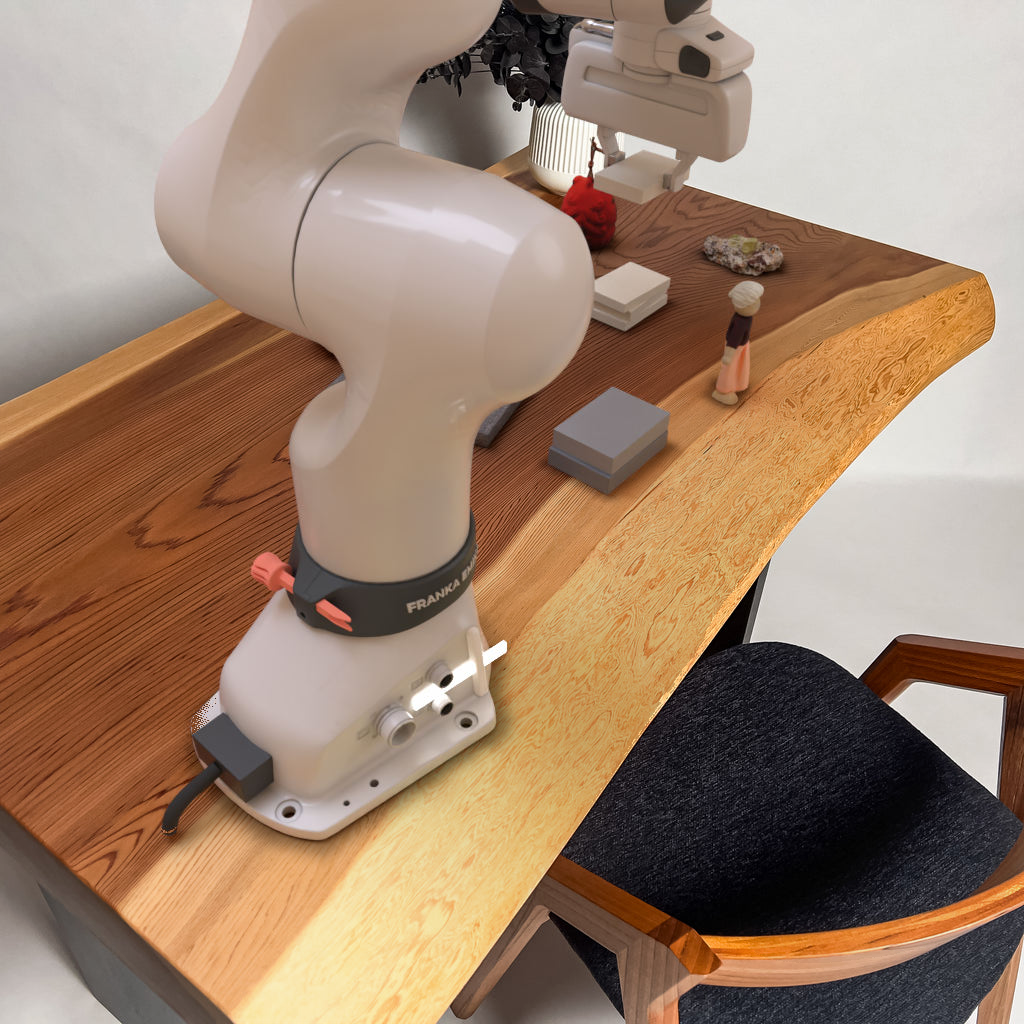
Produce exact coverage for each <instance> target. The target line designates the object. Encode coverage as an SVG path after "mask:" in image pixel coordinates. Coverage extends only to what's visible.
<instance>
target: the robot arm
mask: <svg viewBox="0 0 1024 1024" xmlns="http://www.w3.org/2000/svg"><path fill="white" fill-rule="evenodd" d="M509 2H510V3H511V4H512V5H513V7H514V8H515V9H516V10H518V12H520V13H521V14H523V15H543V16H560V15H561V16H562V15H564V16H565V15H566V16H571V17H572V16H573V17H579V18H580V17H581V18H584V19H582V21H579V22H577V23H575V24H574V26H572V29H571V30H570V31H569V36H568V48H567V49H568V56H567V60H566V64H565V67H564V68H565V69H564V74H563V80H562V86H561V96H560V105H561V107H562V110H563V112H564V114H565V115H566V116H568V117H570V118H573V119H576V120H580V121H583V122H587V123H590V124H593V125H597V127H596V137H597V139H598V142H599V145H600V147H601V149H602V150H603V153H605V155H604V154H603V155H604V157H603V169H605V168H607V167H609V166H611V165H613V164H615V163H617V162H619V161H622V160H624V159H626V152H625V151H622V150H620V147H619V144H618V140H617V135H616V134H617V133H622V134H625V135H629V136H632V137H635V138H638V139H642V140H645V141H648V142H651V143H654V144H658V145H661V146H665V147H668V148H670V149H674V150H676V151H675V159H674V160H678V161H680V162H679V164H678V165H677V166H676V168H672V169H670V171H666V172H665V173H664V175H663V180H664V182H663V189H666V190H668V191H669V192H672V193H675V194H676V193H678V192H679V191H681V190H682V189H683V187H684V182H685V181H684V177H685V172H687V170H688V169H689V168H690V169H691V167H692V165H693V164H694V163H695V162H696V160H697V159H698V158H699V157H700V158H703V159H707V160H709V161H712V162H716V163H724V162H726V161H729V160H730V159H732V158H734V157H736V156H737V155H738V154H739V153H740V152H741V151H742V150H743V149H744V148H745V147H746V144H747V142H748V141H747V140H748V135H749V130H750V125H751V124H750V123H751V115H752V103H753V88H752V87H753V86H752V83H751V80H750V78H749V76H748V74H746V73H745V70H747V69H748V68H749V67H751V66H752V64H753V61H754V57H755V47H754V46H753V44H752V43H751V42H749V41H748V40H747V39H745V38H744V37H742V36H741V35H739V34H738V33H736V32H735V31H733V30H732V29H730V28H729V27H728V26H726V25H724V24H723V23H722V22H721V21H720V20H718V19H717V18H716V17H715V16H713V15H712V8H713V0H509ZM502 3H503V0H251V5H250V9H249V14H248V18H247V21H246V26H245V30H244V33H243V36H242V39H241V43H240V46H239V49H238V51H237V54H236V56H235V59H234V61H233V65H232V67H231V69H230V72H229V74H228V75H227V78H226V81H225V82H224V84H223V86H222V88H221V90H220V92H219V94H218V95H217V97H216V98H215V100H214V101H213V103H212V104H211V105H210V107H209V108H208V109H207V110H206V111H205V112H204V113H203V114H202V115H200V116H199V117H198V118H197V119H195V120H194V121H193V122H191V123H190V124H188V125H187V126H186V127H185V128H184V129H183V130H182V131H180V133H179V134H178V135H176V136H177V137H176V138H175V139H174V140H173V142H171V144H170V146H169V148H168V149H167V151H166V153H165V155H164V157H163V159H162V162H161V164H160V167H159V170H158V172H157V177H156V181H155V187H154V195H153V213H154V214H153V215H154V220H155V226H156V231H157V233H158V237H159V239H160V243H161V245H162V246H163V249H164V251H165V252H166V254H167V256H168V257H169V258H170V259H171V261H172V262H173V263H174V264H175V265H176V266H177V267H178V268H179V269H180V270H182V272H184V273H185V274H186V275H188V276H189V277H191V278H192V279H193V280H194V281H196V282H197V283H198V284H199V285H201V286H202V287H203V288H204V289H206V290H207V291H209V292H210V293H211V294H213V295H214V296H216V297H217V298H218V299H220V300H221V301H223V302H224V303H225V304H227V305H228V306H230V307H231V308H232V309H235V310H237V311H239V312H241V313H242V314H245V315H248V316H250V317H252V318H255V319H258V320H260V321H263V322H265V323H268V324H270V325H273V326H275V327H278V328H280V329H283V330H285V331H287V332H290V333H292V334H295V335H297V336H299V337H302V338H304V339H307V340H310V341H312V342H315V343H317V344H319V345H320V346H322V347H323V348H325V349H326V348H327V349H329V350H330V351H332V352H333V353H332V352H331V353H332V354H333V356H335V358H336V360H337V361H338V364H339V365H340V367H341V369H342V371H343V372H344V375H345V380H344V381H341V382H339V383H337V384H334V385H332V386H330V387H329V388H327V387H326V388H327V389H326V388H325V389H323V390H322V391H320V393H318V394H317V395H316V396H314V397H313V398H312V399H311V400H310V401H309V402H308V403H307V405H306V406H305V407H304V409H303V410H302V412H301V414H300V415H299V417H298V419H297V421H296V423H295V424H294V426H293V429H292V431H291V433H290V437H289V442H288V456H289V461H290V469H291V475H292V483H293V488H294V489H293V490H294V497H295V502H296V510H297V516H298V521H297V523H296V527H295V531H294V535H293V539H292V542H291V548H290V552H289V556H288V562H283V561H282V560H281V558H279V557H278V556H277V555H276V554H275V553H273V552H271V551H266V552H263V553H261V554H259V555H258V556H257V557H256V558H255V559H254V561H253V562H252V564H253V565H251V568H250V571H251V572H250V575H251V578H252V579H254V580H255V581H257V582H258V583H261V584H263V585H265V586H266V587H267V589H268V590H269V591H270V592H275V593H274V594H273V595H272V596H271V598H270V600H269V601H268V603H266V605H265V606H264V608H263V609H262V611H261V612H260V614H259V615H258V616H257V618H255V621H254V622H253V623H252V625H251V626H250V627H249V628H248V630H247V632H246V633H245V634H244V636H243V637H242V638H241V639H240V641H239V642H238V644H237V645H236V647H235V648H234V649H233V650H232V652H231V653H230V655H229V656H228V657H227V658H226V660H225V662H224V664H223V667H222V669H221V672H220V678H219V686H218V687H219V689H218V690H217V691H216V693H215V694H213V696H211V698H210V699H209V700H210V701H209V700H208V701H207V702H206V703H205V704H204V705H205V706H208V707H209V708H208V707H205V706H204V705H202V707H201V708H202V709H203V707H205V708H204V710H206V711H204V710H201V708H200V709H199V710H201V711H202V712H201V713H203V714H201V713H198V711H199V710H198V711H197V712H196V713H198V714H200V715H202V716H200V715H197V714H196V713H195V715H197V716H199V717H202V718H203V719H201V718H199V719H201V722H203V721H204V722H203V723H201V722H199V723H200V724H203V725H204V726H203V725H200V724H198V725H200V726H199V727H200V729H199V728H197V729H199V730H197V731H196V732H195V733H193V734H192V733H191V737H192V738H191V739H192V744H193V745H192V746H193V748H194V752H195V756H196V757H197V759H198V762H199V763H200V765H201V767H202V768H203V770H202V771H201V772H199V774H197V775H196V776H195V777H194V778H192V779H191V780H190V781H189V782H188V783H186V785H184V787H182V789H181V790H180V791H179V792H177V794H175V796H174V797H173V798H172V800H171V801H170V803H169V804H168V805H167V807H166V809H165V811H164V814H163V816H162V817H163V818H162V824H161V828H162V829H163V830H165V831H167V832H168V831H170V830H173V829H175V827H177V826H178V827H179V821H180V818H181V817H182V814H183V813H184V812H185V811H186V809H187V808H188V807H189V805H190V804H191V803H192V802H193V801H194V800H195V799H196V798H197V797H199V795H200V794H202V793H203V792H205V790H206V789H207V788H208V787H210V786H211V785H212V784H213V783H214V784H215V785H216V786H217V787H218V788H219V790H221V791H222V792H223V794H225V795H226V797H228V798H229V799H230V800H231V801H232V802H233V803H234V804H236V805H237V806H238V807H239V808H240V809H241V810H243V811H244V812H245V813H247V814H248V815H249V816H251V817H252V818H254V819H256V820H257V821H259V822H260V823H261V824H264V825H266V826H267V827H269V828H271V829H273V830H274V831H278V832H280V833H283V834H284V835H288V836H292V837H295V838H299V839H305V840H312V841H322V840H323V841H324V840H326V839H328V838H330V837H332V836H334V835H335V834H336V833H338V832H340V831H342V830H344V829H345V828H346V827H348V826H349V825H351V824H353V823H354V822H355V821H357V820H358V819H360V818H361V817H363V816H364V815H366V814H368V813H369V812H371V811H372V810H374V809H375V808H376V807H378V806H380V805H381V804H383V803H384V802H386V801H388V800H389V799H391V798H392V797H393V796H395V795H397V794H398V793H400V792H401V791H402V790H405V789H406V788H407V787H409V786H410V785H412V784H414V783H415V782H416V781H418V780H419V779H421V778H422V777H424V776H425V775H427V774H429V773H430V772H432V771H433V770H435V769H436V768H438V767H439V766H441V765H443V764H444V763H445V762H447V761H448V760H450V759H452V758H453V757H456V755H458V754H459V753H461V752H462V751H464V750H465V749H467V748H469V747H470V746H472V745H473V744H474V743H477V742H478V741H479V740H481V739H482V738H484V737H485V736H487V735H488V734H490V733H491V732H492V731H493V730H494V729H495V727H496V725H497V713H496V707H495V703H494V700H493V697H492V694H491V691H490V689H489V688H490V687H489V686H490V680H491V673H492V662H493V661H494V660H496V659H498V658H499V657H501V656H502V655H504V654H506V653H507V642H506V641H505V640H502V641H500V642H499V643H497V644H496V645H494V646H493V647H491V648H490V646H489V642H488V640H487V637H486V636H485V634H484V631H483V629H482V626H481V624H480V623H481V622H480V618H479V612H478V606H477V602H476V601H477V599H476V596H475V590H474V584H473V583H474V582H473V579H474V576H475V574H476V570H477V557H478V550H479V545H478V543H477V529H476V528H477V526H476V519H475V515H474V512H473V510H472V507H471V481H472V466H473V456H474V455H473V454H474V446H475V444H474V442H475V439H476V436H477V433H478V431H479V429H480V427H481V425H482V423H483V422H484V420H485V419H486V418H487V417H488V416H489V415H490V414H491V413H493V412H494V411H495V410H497V409H499V408H500V407H502V406H505V405H508V404H511V403H515V402H518V401H521V400H523V401H524V400H525V399H528V398H529V397H531V396H533V395H535V394H537V393H538V392H540V391H541V390H542V389H544V388H545V387H547V386H548V385H549V384H551V383H552V382H553V381H554V380H555V379H556V378H557V377H558V376H559V375H560V374H562V372H563V371H564V370H565V369H566V368H567V367H568V365H569V364H570V362H572V360H573V359H574V358H575V356H576V354H577V353H578V351H579V349H580V348H581V346H582V343H583V341H584V339H585V337H586V334H587V332H588V330H589V327H590V324H591V320H592V318H591V316H592V311H593V306H594V295H595V280H596V279H595V271H594V269H595V268H594V263H593V258H592V255H591V250H589V247H588V244H587V241H586V239H585V237H584V234H583V232H582V230H581V228H580V226H579V225H578V224H577V222H576V221H575V220H574V219H573V218H571V217H570V216H568V215H567V214H565V213H563V212H562V211H561V209H559V208H556V207H555V206H553V205H552V204H550V203H548V202H547V201H545V200H543V199H541V198H540V197H538V196H536V195H535V194H533V193H531V192H529V191H528V190H525V189H524V188H522V187H520V186H519V185H516V184H515V183H512V182H511V181H509V180H508V179H506V178H504V177H502V176H500V175H498V174H495V173H492V172H489V171H485V170H481V169H478V168H475V167H472V166H467V165H464V164H461V163H457V162H454V161H450V160H446V159H443V158H440V157H437V156H433V155H430V154H426V153H422V152H418V151H415V150H412V149H408V148H405V147H402V146H401V145H400V133H401V132H400V131H401V125H402V120H403V117H404V114H405V110H406V106H407V103H408V101H409V99H410V96H411V93H412V91H413V90H414V88H415V86H416V84H417V82H418V80H420V77H421V76H422V75H423V74H424V72H425V71H426V70H428V69H430V68H433V67H435V66H438V65H440V64H443V63H446V62H448V61H450V60H451V59H453V58H456V57H457V56H459V55H461V54H463V53H464V52H466V51H468V50H469V49H470V48H472V46H474V45H475V44H476V43H477V42H478V41H480V39H482V38H483V36H484V35H486V33H487V32H488V31H489V29H490V28H491V26H492V24H493V23H494V21H495V20H496V18H497V16H498V13H499V11H500V8H501V6H502ZM597 20H603V21H610V22H613V23H608V22H599V21H597ZM580 27H581V28H580ZM327 349H326V350H327ZM330 351H329V352H330ZM343 372H342V373H343ZM215 698H216V699H215ZM208 702H209V703H208ZM215 703H216V704H215ZM206 704H208V705H206ZM209 705H210V706H209ZM212 706H213V707H212ZM206 708H207V709H206ZM207 711H208V712H207ZM199 712H200V711H199ZM205 712H206V713H205ZM204 714H205V715H204ZM195 715H194V716H195ZM194 716H193V717H192V719H193V718H194ZM203 716H204V717H203ZM206 717H207V718H206ZM197 718H198V717H197ZM204 719H206V720H204ZM196 720H197V719H196ZM202 720H203V721H202ZM207 720H209V721H207ZM198 721H200V720H198ZM198 721H197V722H198ZM205 721H206V722H207V723H206V722H205ZM191 722H192V720H191V721H190V723H191ZM193 723H194V722H193ZM204 723H205V724H204ZM195 724H197V723H195ZM198 725H197V727H198ZM463 725H468V726H469V727H464V726H463ZM201 726H202V727H201ZM195 728H196V727H195ZM190 729H191V732H192V727H191V726H190ZM194 730H195V729H194ZM290 813H294V815H293V816H291V817H285V816H286V815H287V814H290ZM178 827H177V828H176V829H175V830H174V831H173V832H171V833H163V831H162V830H161V828H160V831H161V833H162V834H163V835H165V836H174V835H175V834H177V831H178Z"/></svg>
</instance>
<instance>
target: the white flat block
mask: <svg viewBox="0 0 1024 1024" xmlns="http://www.w3.org/2000/svg"><path fill="white" fill-rule="evenodd" d="M679 162H680V160H676V159H674V158H671V157H668V156H664V155H662V154H658V153H656V152H652V151H649V150H645V149H642V150H640V151H638V152H636V153H634V154H632V155H629V156H628V157H625V159H624V160H622V161H619V162H617V163H615V164H613V165H611V166H609V167H607V168H605V169H604V168H603V169H601V170H599V171H597V172H595V173H594V174H593V177H594V186H593V188H594V189H597V190H600V191H603V192H605V193H608V194H611V195H613V197H614V196H615V197H617V198H620V199H623V200H625V201H628V202H631V203H634V204H637V205H640V206H642V205H644V204H646V203H648V202H650V201H652V200H653V199H655V198H657V197H659V196H661V195H663V194H665V193H666V192H668V191H669V190H666V189H663V182H664V180H663V175H664V173H665V172H666V171H670V169H672V168H676V166H677V165H678V164H679ZM690 173H691V167H690V168H689V169H688V170H687V172H685V177H684V182H686V181H688V180H689V179H690Z"/></svg>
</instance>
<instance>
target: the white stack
mask: <svg viewBox="0 0 1024 1024" xmlns="http://www.w3.org/2000/svg"><path fill="white" fill-rule="evenodd" d="M670 285H671V277H669V276H666V275H664V274H661V273H659V272H657V271H654V270H652V269H649V268H647V267H645V266H642V265H640V264H637V263H635V262H633V261H629V262H627V263H625V264H623V265H621V266H619V267H618V268H616V269H613V270H611V271H610V272H607V273H606V274H604V275H602V276H600V277H598V278H597V279H595V295H594V306H593V311H592V316H591V319H594V320H596V321H599V322H601V323H604V324H606V325H608V326H611V327H613V328H615V329H617V330H620V331H623V332H626V331H628V330H629V329H631V328H632V327H634V326H635V325H637V324H638V323H640V322H641V321H644V319H646V318H647V317H649V316H651V315H652V314H653V313H655V312H656V311H658V310H659V309H661V308H662V307H663V306H665V305H666V304H667V303H668V296H669V295H668V294H667V293H668V290H669V288H670Z"/></svg>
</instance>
